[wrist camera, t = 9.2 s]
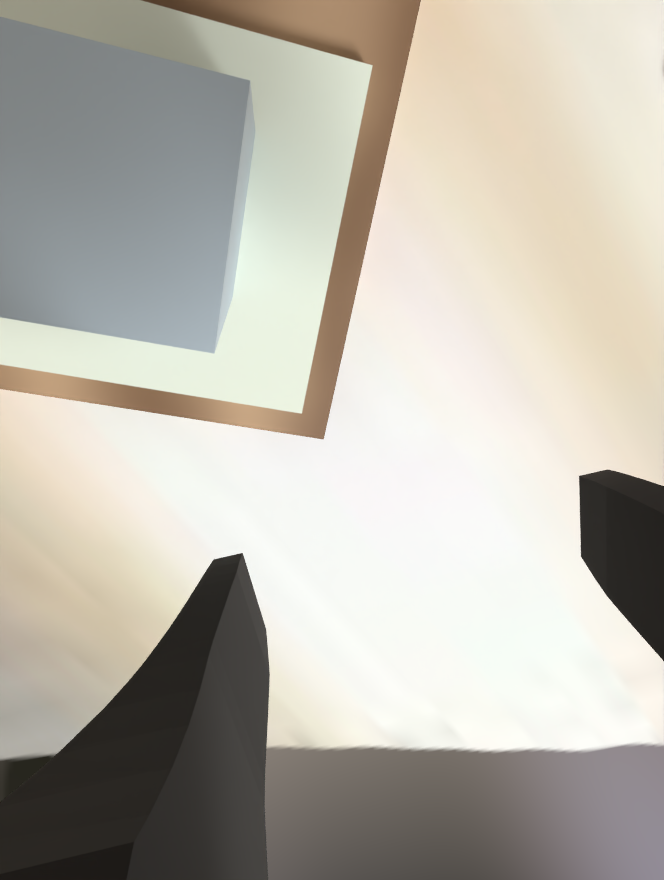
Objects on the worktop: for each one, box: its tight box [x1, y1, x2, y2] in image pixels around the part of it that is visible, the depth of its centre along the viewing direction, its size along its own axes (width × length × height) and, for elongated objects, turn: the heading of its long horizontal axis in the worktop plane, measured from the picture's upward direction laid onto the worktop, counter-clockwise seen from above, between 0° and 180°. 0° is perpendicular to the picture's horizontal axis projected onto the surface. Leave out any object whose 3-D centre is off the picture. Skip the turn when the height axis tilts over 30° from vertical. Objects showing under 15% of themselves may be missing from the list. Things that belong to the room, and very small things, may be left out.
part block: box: [0, 17, 256, 353], centre depth 13 cm, size 4×4×7 cm
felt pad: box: [0, 0, 373, 414], centre depth 16 cm, size 10×10×1 cm
